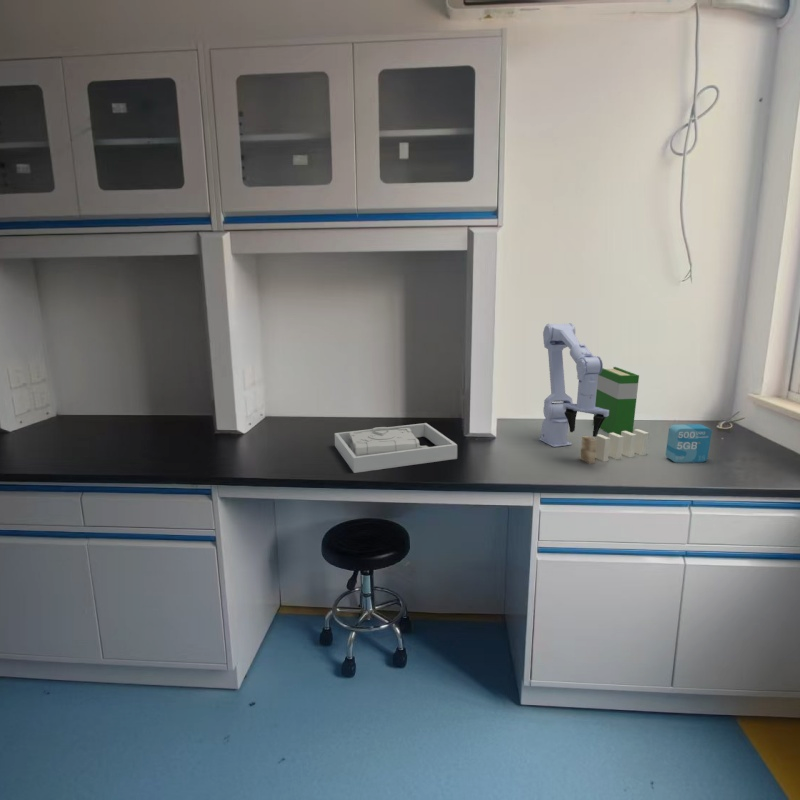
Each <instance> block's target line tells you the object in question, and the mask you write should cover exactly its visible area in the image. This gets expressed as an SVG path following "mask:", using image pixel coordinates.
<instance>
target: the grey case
mask: <svg viewBox="0 0 800 800" xmlns="http://www.w3.org/2000/svg"><path fill="white" fill-rule="evenodd" d="M371 429H372V431H367V432H361V431H359V430H353V431H354V432H350V431H348V432H349V438H350V440H351V441H352V442H350V443H349V445H350V446H349V448H350V449H351V450H352V452H353V453H354V454H355V455H356V456H364V455H372V454H380V453H388V452H395V451H403V450H411V449H419V448H427V447H429V446H428V445H420V440H419V439H418V437H415V436H414V435H413V434H412V431H411V429H410V428H401V429H397V430H388V428H387V426H379V427H373V428H371Z"/></svg>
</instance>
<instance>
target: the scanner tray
mask: <svg viewBox="0 0 800 800" xmlns="http://www.w3.org/2000/svg"><path fill="white" fill-rule="evenodd" d="M386 427H387V426H386ZM387 428H388V430H397V429H401V428H410V429H411V431H412V434H413V435H414V436H415V437H416V438H422V437H423V438H426V439H427V440H428V441H430V442H431V443H432V444H434V446H428V447H427V448H419V449H411V450H403V451H395V452H388V453H380V454H372V455H364V456H356V455H355V454H354V453H353V452H352V450H351V449H350V445H349V443H350V442H352V441H351V440H350V438H349V432H354V431H355V430H352V431H341V432H334V448H336V449H337V451H338V453H339V454H340V455H341V456H342V458H343V460H344V461H345V462H346V463H347V465H348V467H349V468H350V469H351V471H352V472H353V474H354V473H355V474H356V473H365V472H371V471H378V470H383V469H392V468H398V467H406V466H413V465H422V464H427V463H428V464H429V463H434V462H435V463H436V462H442V461H443V462H444V461H449V460H457V459H458V444H457V443H456V442H455V441H453V440H451V439H450V438H448V437H447V436H446V435H444V434H443V433H442V432H440V431H439V430H437V429H436V428H434V427H433V426H431V425H430V424H428V423H427V422H424V423H416V424H415V423H413V424H406V425H397V426H396V425H395V426H388V427H387ZM372 429H373V428H369V429H362V430H360V429H359V430H358V431H361V432H367V431H372Z"/></svg>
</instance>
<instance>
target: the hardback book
mask: <svg viewBox="0 0 800 800" xmlns="http://www.w3.org/2000/svg"><path fill="white" fill-rule="evenodd" d="M639 379H640V374H636V373H633V372H631V371H628V370H626V369H623V368H619V367H617V366H613V368H604V367H603V369H602V372H601V373H600V374H599V375H598V382H597V392H596V403H595V407H599V408H602V409H606V410H609V416H608V417H606V418H605V419H604V421H603V422H602V424H601V426H600V428H599V429H600V430H602V431H603V432H606V433H607V434H609V433H616V434H618V435H621V431H628V432H631V433H634V426H635V425H634V424H635V418H636V417H635V414H636V406H637V396H638V388H639ZM594 416H596V414H593V417H594ZM592 424H593V425H594V420H593V421H592Z"/></svg>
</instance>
